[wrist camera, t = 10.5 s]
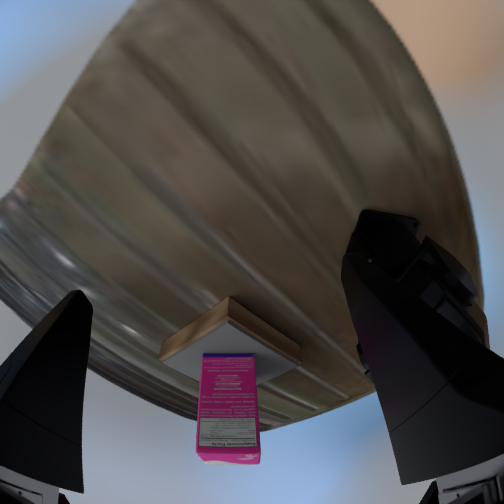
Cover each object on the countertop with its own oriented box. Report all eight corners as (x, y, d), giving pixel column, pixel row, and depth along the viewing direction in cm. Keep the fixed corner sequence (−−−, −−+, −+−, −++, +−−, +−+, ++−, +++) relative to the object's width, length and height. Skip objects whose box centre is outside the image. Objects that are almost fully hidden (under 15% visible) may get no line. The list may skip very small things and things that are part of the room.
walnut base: (228, 296, 27) (227, 319, 24) (299, 345, 32) (303, 365, 30) (162, 342, 31) (157, 362, 29) (231, 379, 36) (231, 397, 34)
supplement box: (256, 377, 31) (259, 465, 21) (207, 377, 31) (202, 464, 21) (257, 351, 27) (261, 455, 18) (201, 351, 27) (191, 453, 18)
